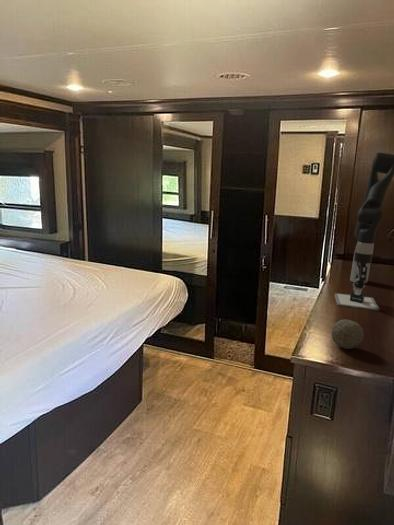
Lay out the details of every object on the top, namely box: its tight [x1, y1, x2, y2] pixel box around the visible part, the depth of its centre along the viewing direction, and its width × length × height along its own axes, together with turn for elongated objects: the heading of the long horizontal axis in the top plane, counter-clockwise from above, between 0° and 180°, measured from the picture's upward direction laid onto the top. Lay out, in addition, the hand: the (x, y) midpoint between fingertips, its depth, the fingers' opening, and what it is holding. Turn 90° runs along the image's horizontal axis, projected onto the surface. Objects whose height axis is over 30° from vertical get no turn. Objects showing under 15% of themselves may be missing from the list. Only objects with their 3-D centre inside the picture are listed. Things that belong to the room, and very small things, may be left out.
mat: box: [334, 292, 381, 312], centre depth 187 cm, size 18×18×1 cm
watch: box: [350, 278, 366, 303], centre depth 186 cm, size 6×8×11 cm
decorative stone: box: [331, 318, 365, 350], centre depth 136 cm, size 10×8×10 cm
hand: (358, 285), depth 186 cm, fingers closed on watch, 8 cm apart
